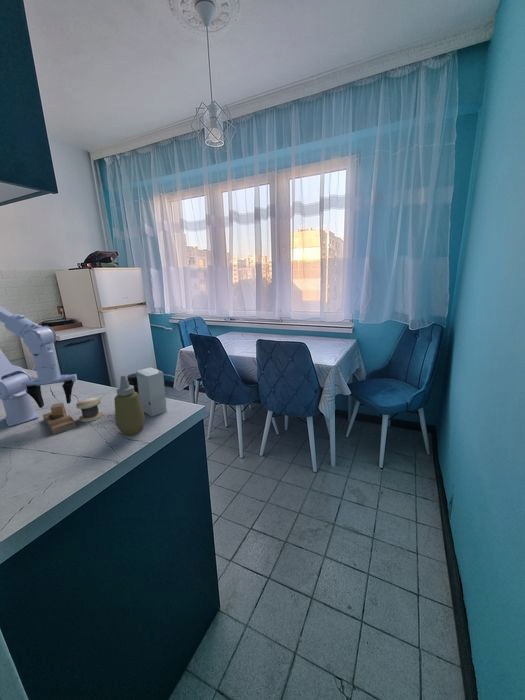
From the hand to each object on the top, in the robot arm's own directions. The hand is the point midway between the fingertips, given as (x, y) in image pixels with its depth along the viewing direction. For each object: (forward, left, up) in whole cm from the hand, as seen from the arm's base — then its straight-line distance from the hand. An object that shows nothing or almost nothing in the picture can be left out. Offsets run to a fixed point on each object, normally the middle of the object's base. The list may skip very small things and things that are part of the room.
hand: (55, 404), depth 95 cm
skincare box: (+18, +25, -6) cm, 31 cm away
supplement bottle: (+10, +23, -6) cm, 26 cm away
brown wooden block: (0, 0, -6) cm, 6 cm away
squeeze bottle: (+26, +14, -6) cm, 30 cm away
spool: (+6, +8, -6) cm, 11 cm away
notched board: (+2, 0, -6) cm, 6 cm away
